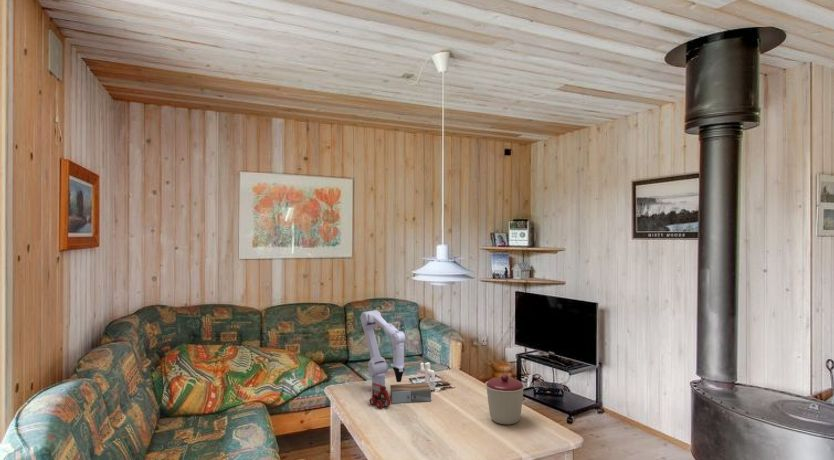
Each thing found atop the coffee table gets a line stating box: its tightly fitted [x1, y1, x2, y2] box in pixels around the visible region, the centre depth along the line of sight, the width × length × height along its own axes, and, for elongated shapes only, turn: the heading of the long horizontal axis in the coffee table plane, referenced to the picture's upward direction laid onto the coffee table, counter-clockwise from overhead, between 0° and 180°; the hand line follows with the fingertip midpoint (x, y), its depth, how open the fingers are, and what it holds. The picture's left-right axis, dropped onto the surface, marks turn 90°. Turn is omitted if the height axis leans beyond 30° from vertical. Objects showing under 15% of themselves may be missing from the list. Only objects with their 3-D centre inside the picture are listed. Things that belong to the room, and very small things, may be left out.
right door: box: [391, 391, 412, 404], centre depth 237 cm, size 2×10×6 cm, turn 98°
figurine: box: [419, 361, 438, 391], centre depth 256 cm, size 7×9×15 cm
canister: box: [484, 373, 526, 426], centre depth 214 cm, size 18×18×21 cm
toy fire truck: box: [369, 383, 392, 410], centre depth 234 cm, size 7×12×10 cm, turn 44°
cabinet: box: [389, 382, 432, 403], centre depth 242 cm, size 12×20×6 cm, turn 97°
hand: (398, 381), depth 242 cm, fingers closed
